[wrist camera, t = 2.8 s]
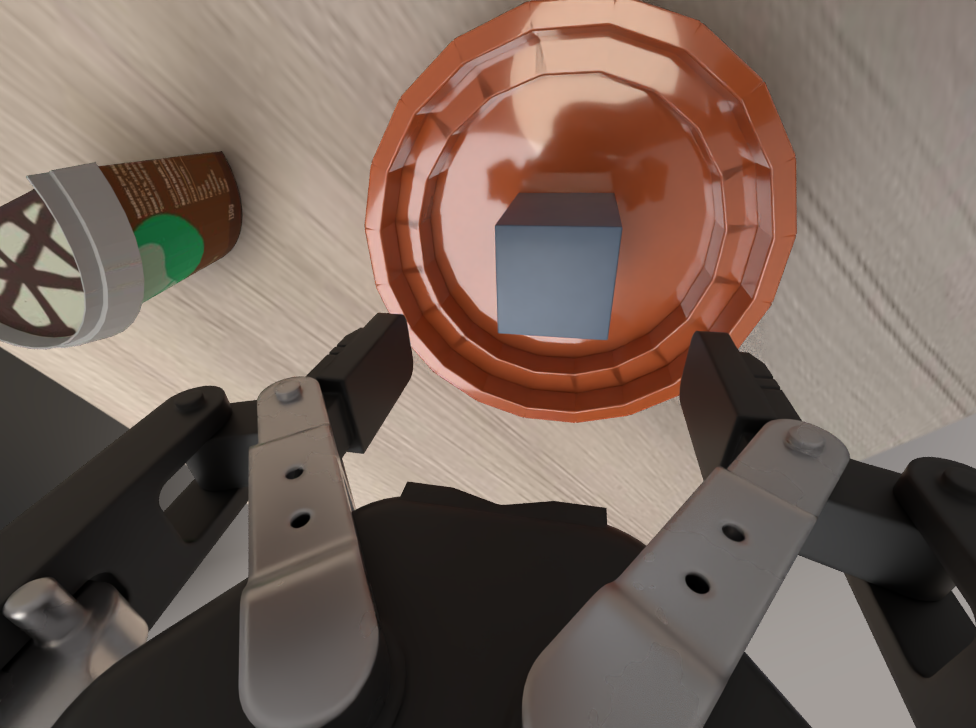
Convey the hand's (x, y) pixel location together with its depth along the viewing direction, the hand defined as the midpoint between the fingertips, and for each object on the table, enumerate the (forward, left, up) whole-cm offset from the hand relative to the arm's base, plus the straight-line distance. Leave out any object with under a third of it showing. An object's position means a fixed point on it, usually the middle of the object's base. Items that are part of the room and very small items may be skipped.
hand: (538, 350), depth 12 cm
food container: (+22, 0, -12) cm, 25 cm away
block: (0, 0, -11) cm, 11 cm away
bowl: (0, 0, -11) cm, 11 cm away
